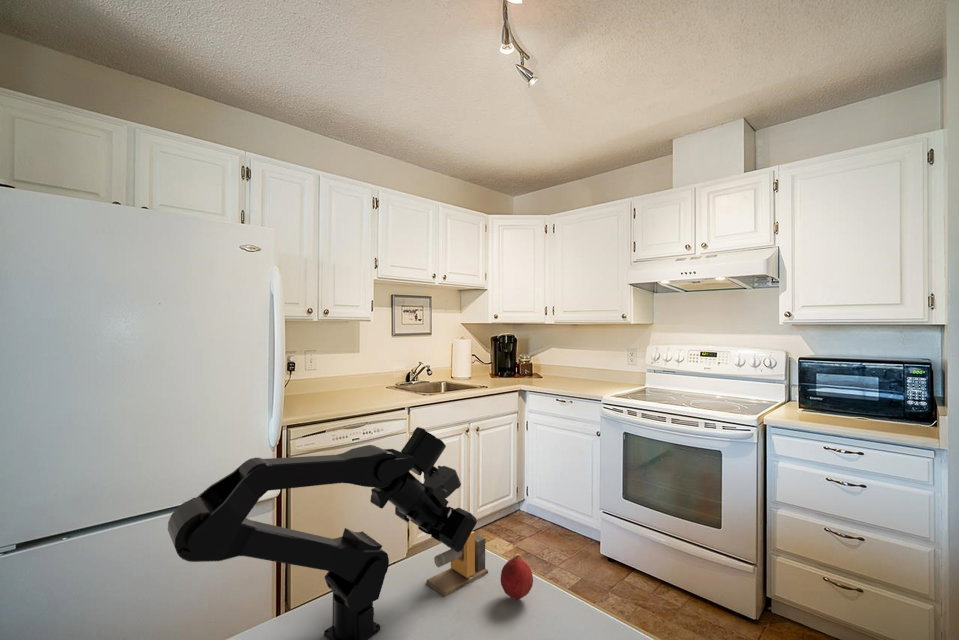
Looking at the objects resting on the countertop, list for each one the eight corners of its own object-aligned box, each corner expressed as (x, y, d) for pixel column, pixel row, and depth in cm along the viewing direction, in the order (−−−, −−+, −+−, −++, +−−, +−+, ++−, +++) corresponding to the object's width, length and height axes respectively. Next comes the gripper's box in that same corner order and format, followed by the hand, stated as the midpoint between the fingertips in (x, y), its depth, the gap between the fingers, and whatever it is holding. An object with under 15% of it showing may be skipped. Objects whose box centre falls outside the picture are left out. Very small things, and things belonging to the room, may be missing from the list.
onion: (517, 614, 72) (517, 567, 72) (493, 598, 76) (493, 553, 77) (539, 600, 76) (539, 555, 76) (516, 585, 80) (516, 543, 80)
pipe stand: (444, 596, 77) (444, 560, 77) (426, 583, 81) (426, 548, 81) (488, 573, 84) (488, 540, 85) (469, 561, 88) (469, 530, 89)
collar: (467, 577, 81) (467, 535, 81) (450, 567, 85) (450, 526, 85) (474, 573, 82) (474, 532, 83) (458, 563, 86) (458, 523, 86)
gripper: (468, 468, 73) (512, 514, 80) (407, 446, 86) (450, 487, 94) (431, 530, 67) (482, 572, 75) (373, 496, 81) (420, 535, 88)
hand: (457, 537), depth 83 cm, fingers closed, pressing on collar
